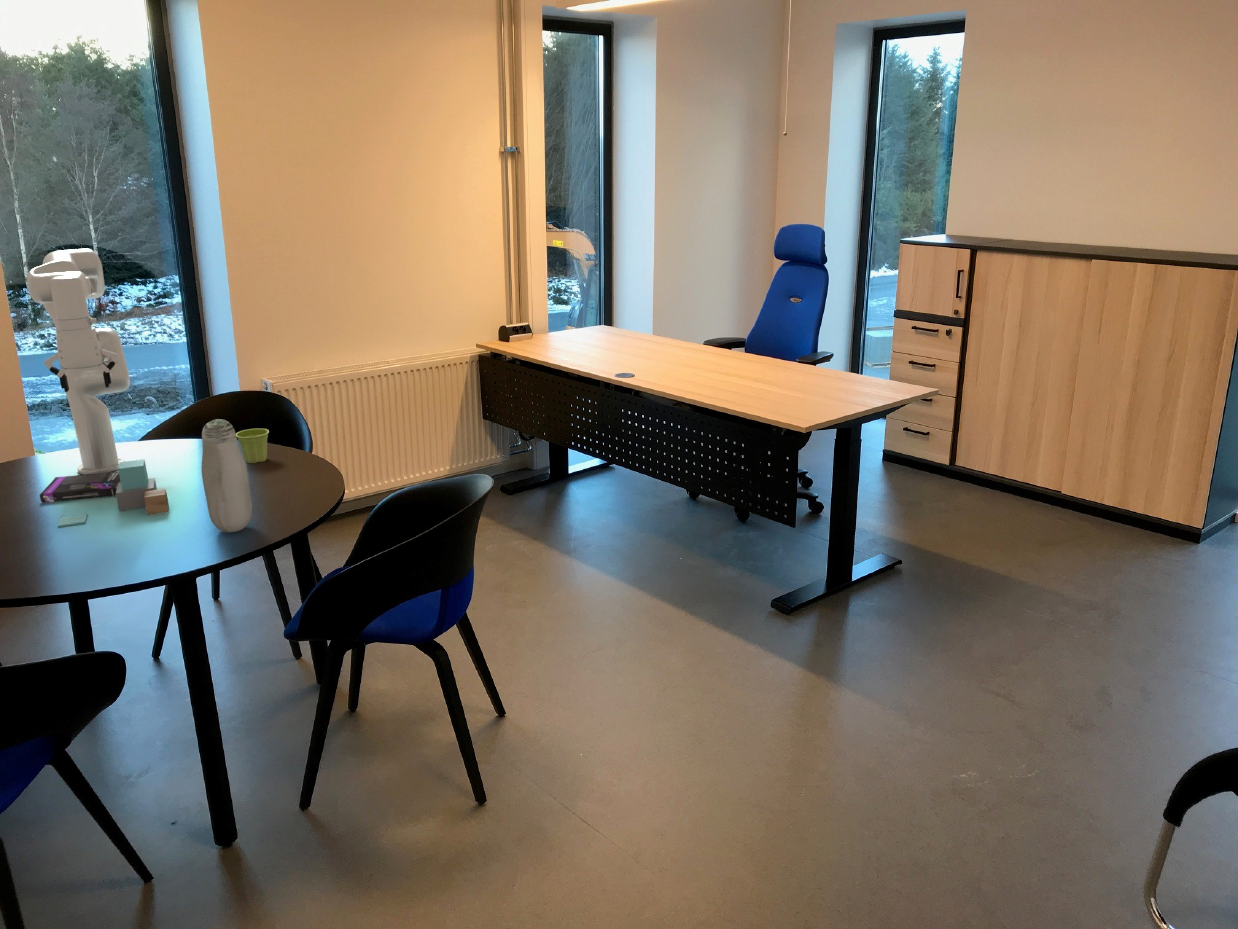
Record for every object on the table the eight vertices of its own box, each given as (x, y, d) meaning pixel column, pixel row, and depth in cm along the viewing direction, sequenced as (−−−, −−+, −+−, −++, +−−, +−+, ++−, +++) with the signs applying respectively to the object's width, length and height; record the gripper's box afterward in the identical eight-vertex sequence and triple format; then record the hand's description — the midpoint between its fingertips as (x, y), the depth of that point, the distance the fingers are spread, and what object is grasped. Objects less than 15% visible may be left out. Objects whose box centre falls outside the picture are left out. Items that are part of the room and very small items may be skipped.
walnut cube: (148, 509, 261) (144, 491, 260) (168, 506, 263) (165, 488, 261) (147, 515, 257) (144, 497, 255) (168, 512, 258) (165, 494, 257)
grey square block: (121, 500, 268) (118, 482, 266) (158, 495, 271) (154, 477, 269) (119, 511, 260) (115, 493, 258) (156, 505, 263) (153, 488, 261)
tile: (61, 519, 255) (61, 517, 255) (87, 515, 257) (87, 513, 257) (58, 527, 250) (58, 525, 250) (85, 523, 252) (84, 521, 252)
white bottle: (254, 534, 242) (237, 424, 233) (210, 540, 239) (191, 428, 230) (256, 520, 251) (240, 413, 242) (213, 525, 248) (195, 417, 239)
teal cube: (124, 483, 266) (119, 462, 264) (148, 480, 268) (144, 459, 266) (122, 490, 260) (118, 468, 258) (147, 487, 262) (143, 465, 260)
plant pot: (249, 455, 303) (245, 428, 301) (278, 455, 302) (274, 428, 299) (234, 465, 295) (229, 437, 292) (263, 465, 293) (259, 437, 290)
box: (41, 506, 268) (118, 498, 271) (38, 494, 267) (116, 486, 270) (58, 488, 281) (131, 480, 284) (55, 476, 280) (128, 469, 283)
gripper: (112, 319, 263) (124, 381, 268) (38, 325, 257) (52, 389, 262) (110, 323, 256) (122, 388, 262) (34, 330, 250) (48, 395, 256)
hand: (87, 388), depth 262 cm, fingers open, 9 cm apart
